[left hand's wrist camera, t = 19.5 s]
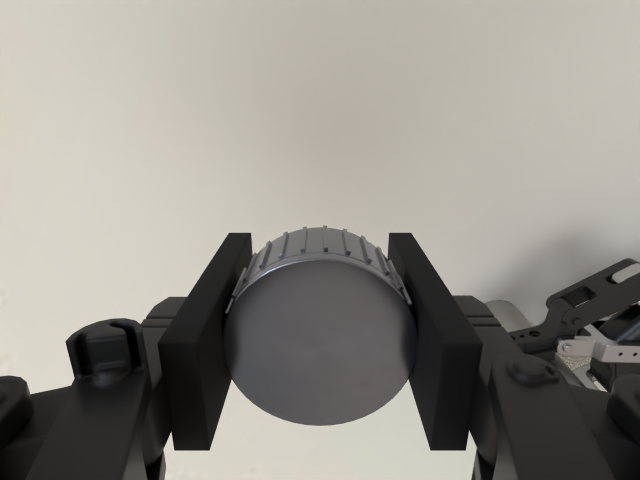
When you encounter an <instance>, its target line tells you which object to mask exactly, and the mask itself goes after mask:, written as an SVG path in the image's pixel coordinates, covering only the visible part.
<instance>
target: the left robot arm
mask: <svg viewBox="0 0 640 480" xmlns="http://www.w3.org/2000/svg"><path fill="white" fill-rule="evenodd" d="M251 258H252V241H251V233H229V234H228V235H227V237H226V239H225V240H224V242H223V243H222V245H221V246H220V248H219V249H218V251H217V252H216V254H215V255H214V257H213V258H212V260H211V262H210V263H209V265H208V266H207V268H206V269H205V271H204V272H203V274H202V275H201V277H200V278H199V280H198V281H197V283H196V284H195V286H194V288H193V289H192V291H191V292H190V294H189V295H188V297H168V298H167V299H165V300H164V301H162V302H160V303H159V304H157V305H156V306H154V308H153V309H152V310H151V311H150V313H149V314H148V315H147V317H146V319H144V320H143V322H142V323H141V324H139V323H138V322H137V321H135V320H131V319H126V318H122V319H109V320H104V321H99V322H96V323H93V324H91V325H88V326H85V327H83V328H82V329H80V330H78V331H77V332H75V333H73V334H72V335H71V336H70V337H69V338H68V339H67V340H66V346H67V350H68V353H69V357H70V361H71V365H72V369H73V373H74V377H75V379H74V381H73V383H72V385H71V386H68V387H64V388H59V389H54V390H50V391H45V392H40V393H35V394H30V392H29V388H28V385H27V382H26V381H25V380H23V379H22V378H21V377H15V376H1V377H0V480H164V478H165V471H166V463H165V456H164V450H163V449H164V447H165V444H166V442H167V440H168V438H169V435H170V433H171V432H172V438H173V444H174V450H210V447H211V444H212V441H213V438H214V434H215V431H216V428H217V425H218V421H219V418H220V415H221V412H222V409H223V405H224V402H225V399H226V396H227V392H228V389H229V386H230V383H231V379H232V378H231V376H230V374H229V372H228V370H227V367H226V364H225V360H224V351H223V340H222V332H223V326H224V322H225V319H226V314H225V312H226V310H227V308H228V306H229V303H230V301H231V299H232V298H231V296H232V293H233V291H234V289H235V287H236V284H237V282H238V280H239V277H240V275H241V273H242V271H243V269H244V267H245V268H247V267H248V265H249V263H250V261H251ZM389 260H392V262H393V264H394V266H395V269H396V271H397V273H398V275H400V277H401V279H402V282H403V284H404V286H405V288H406V291H407V293H408V295H409V297H410V300H411V302H412V304H413V307H411V311H412V313H413V315H414V318H415V322H416V325H417V331H418V343H417V353H416V362H415V365H414V367H413V370H412V372H411V374H410V376H409V378H408V379H409V382H410V385H411V388H412V392H413V395H414V398H415V401H416V405H417V408H418V411H419V414H420V417H421V421H422V424H423V427H424V430H425V434H426V437H427V440H428V443H429V447H430V450H466V445H467V439H468V433H469V430H470V433H471V435H472V437H473V439H474V442H475V444H476V446H477V450H476V456H475V462H474V467H473V473H472V479H471V480H640V375H638V374H627V375H620V376H619V377H618V378H617V379H615V380H614V383H613V386H612V389H611V393H609V392H605V391H600V390H595V389H590V388H585V387H580V386H576V385H572V384H568V382H567V380H566V378H565V377H564V376H563V374H562V373H561V372H560V371H559V369H557V368H556V367H554V366H553V365H552V364H550V363H549V362H547V361H545V360H543V359H540V358H538V357H536V356H533V355H529V354H524V353H523V351H522V350H521V349H520V348H519V346H518V345H517V344H516V343H515V341H514V340H513V339H512V337H511V336H510V335H509V334H508V332H507V331H506V330H505V329H504V327H501V323H500V322H499V321H498V320H497V318H494V315H493V313H492V312H491V311H490V309H489V308H488V307H487V306H486V305H485V304H484V303H482V302H481V301H479V300H477V299H476V298H474V297H473V296H452V295H451V293H450V292H449V290H448V289H447V287H446V286H445V284H444V283H443V281H442V280H441V278H440V276H439V275H438V273H437V272H436V270H435V269H434V267H433V266H432V264H431V263H430V261H429V260H428V258H427V257H426V255H425V253H424V252H423V250H422V249H421V247H420V246H419V244H418V243H417V241H416V240H415V238H414V237H413V235H412V234H411V233H389V245H388V261H389Z"/></svg>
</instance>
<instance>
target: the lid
mask: <svg viewBox="0 0 640 480" xmlns="http://www.w3.org/2000/svg"><path fill="white" fill-rule="evenodd" d="M231 298H232V299H231V301H230V303H229V306H228V308H227V310H226V312H225V314H226V319H225V322H224V326H223V332H222V340H223V351H224V360H225V364H226V367H227V370H228V372H229V374H230V376H231V378H232V380H233V381H234V383H235V384H236V386H237V387H238V389H239V390H240V391H241V392H242V393H243V394H244V395H245V396H246V397H247V398H248V399H249V400H250V401H251V402H252V403H253V404H255V405H256V406H258V407H259V408H261V409H262V410H264V411H266V412H267V413H269V414H271V415H273V416H276V417H278V418H281V419H283V420H286V421H290V422H294V423H298V424H304V425H316V426H323V425H335V424H342V423H346V422H350V421H354V420H357V419H359V418H362V417H365V416H367V415H369V414H371V413H373V412H375V411H376V410H378V409H379V408H381V407H382V406H384V405H385V404H386V403H388V402H389V401H390V400H391V399H393V398H394V396H395V395H396V394H397V393H398V392H399V391H400V390H401V389H402V387H403V386H404V384H405V383H406V382H407V380H408V378H409V376H410V374H411V372H412V370H413V367H414V365H415V362H416V353H417V343H418V331H417V325H416V322H415V318H414V315H413V313H412V311H411V307H413V304H412V302H411V300H410V297H409V295H408V293H407V291H406V288H405V286H404V284H403V282H402V279H401V277H400V275H398V273H397V271H396V269H395V266H394V264H393V262H392V260H389V261H388V259H387V258H386V257H385V256H384V255H383V253H382V251H381V248H380V247H379V246H378V247H377V248H376V247H375V246H374V245H372V244H371V243H369V242H368V241H366V239H365V237H364V236H361V237H359V236H357V235H355V234H352V233H349V232H347V229H343V230H338V229H334V228H327V226H323V228H322V227H321V228H307V227H303V229H301V230H297V231H294V232H291V233H288V232H285V233H284V234H283V236H281V237H279V238H277V239H275V240H274V241H272V242H271V241H268V242H267V243H266V246H265V247H264V248H263V249H262V250H260V252H259V253H258V254H256V253H254V254H253V256H252V258H251V261H250V263H249V265H248V267H247V268H245V267H244V269H243V271H242V273H241V275H240V277H239V280H238V282H237V284H236V287H235V289H234V291H233V293H232V296H231Z"/></svg>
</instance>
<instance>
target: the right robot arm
mask: <svg viewBox="0 0 640 480" xmlns="http://www.w3.org/2000/svg"><path fill="white" fill-rule="evenodd" d="M587 300H590V301H588V302H586V303H584V304H581V303H583V302H585V301H587ZM579 304H581V305H579ZM576 305H579V306H577V307H575V306H576ZM546 306H547V308H548V309H549V311H548V314H547V317H546V319H545V320H543V321H542V322H540V324H539V325H538V326H535V327H530V328H526V329H521V330H516V331H511V332H508V334H509V335H510V336H511V337H512V339H513V340H514V341H515V343H516V344H517V345H518V346H519V348H520V349H521V350H522V351H523V353H524V354H529V355H533V356H536V357H538V358H540V359H543V360H545V361H550V360H555V353H556V352H558V353H559V354H560V355H562V356H581V357H592V359H591V362H590V363H588V364H586V365H584V366H581V367H579V368H577V369H574V370H573V371H572V372H573V373H574V374H575V375H576V376H577V377H578V378H579V379H580V381H581V382H582V383H583V384H584V385H585V386H586V387H587V388H590V389H595V390H599V389H598V388H597V387H596V385H595V384H594V383H593V382H594V381H596V380H597V381H598V382H599V383H600V384H601V385H602V386H603V387H604V388H605V389H606V390H607V392H609V393H611V389H612V386H613V383H614V380H615V379H617V378H618V377H619V376H620V375H627V374H638V375H640V263H638V262H637V261H635V260H633V259H624V260H622V261H620V262H618V263H616V264H614V265H612V266H610V267H608V268H606V269H604V270H602V271H600V272H598V273H596V274H594V275H592V276H590V277H588V278H586V279H584V280H582V281H580V282H578V283H576V284H574V285H572V286H570V287H568V288H566V289H564V290H562V291H560V292H558V293H556V294H554V295H552V296H550V297H549V298H548V299H547V301H546ZM617 311H618V312H617ZM615 312H617V313H616V314H614V315H612V316H611V317H607V316H609V315H611V314H613V313H615Z"/></svg>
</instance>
